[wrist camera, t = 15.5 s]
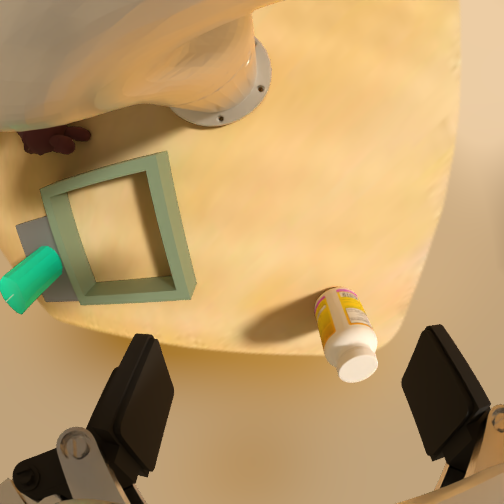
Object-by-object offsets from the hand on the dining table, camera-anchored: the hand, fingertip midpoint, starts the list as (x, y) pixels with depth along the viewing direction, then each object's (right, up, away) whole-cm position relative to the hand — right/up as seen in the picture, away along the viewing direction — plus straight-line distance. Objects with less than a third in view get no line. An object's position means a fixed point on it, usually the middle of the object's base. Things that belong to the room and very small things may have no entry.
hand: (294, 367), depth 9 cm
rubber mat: (-35, +2, +30) cm, 46 cm away
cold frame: (-19, +7, +27) cm, 34 cm away
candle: (-34, +2, +29) cm, 45 cm away
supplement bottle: (+11, -4, +31) cm, 33 cm away
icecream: (-29, +21, +21) cm, 41 cm away
